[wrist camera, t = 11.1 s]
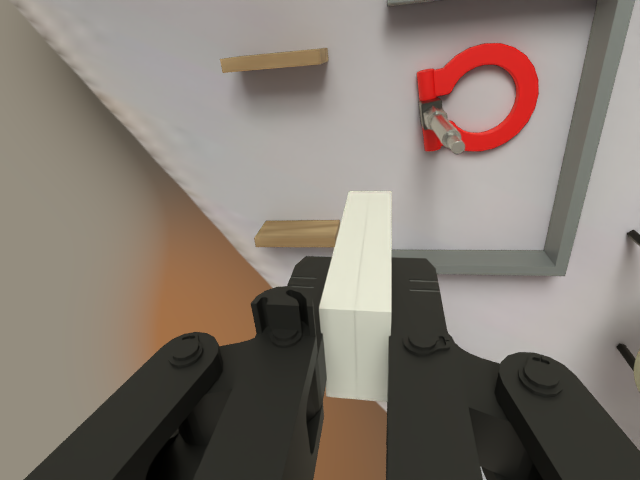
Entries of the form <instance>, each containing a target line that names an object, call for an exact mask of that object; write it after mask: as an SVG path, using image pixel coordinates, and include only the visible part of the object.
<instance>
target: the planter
mask: <svg viewBox="0 0 640 480" xmlns="http://www.w3.org/2000/svg"><path fill="white" fill-rule="evenodd" d="M627 235H628V236H629V237H630V238H631V239H632V240H633V241H634V242H635V243H636V244H638V245H639V246H640V234H638V233H637V232H636V231H635V230H632V231H630V232H628V233H627ZM617 349H618V350H619V352H620V353H621V354H622V356H623V357H624V359H625V360H626V361H627V363H628V364H629V366H630V367H631V368H632V370H633V371H634V378H635V383H636V386H637V388H638V390H639V392H640V349H639V351H638V354H637V357H636V359H635V357H634V356H633V355H632V353H631V352H630V351H629V349H628V348H627V347H626V345H624V344H619V345H618V346H617Z"/></svg>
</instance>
